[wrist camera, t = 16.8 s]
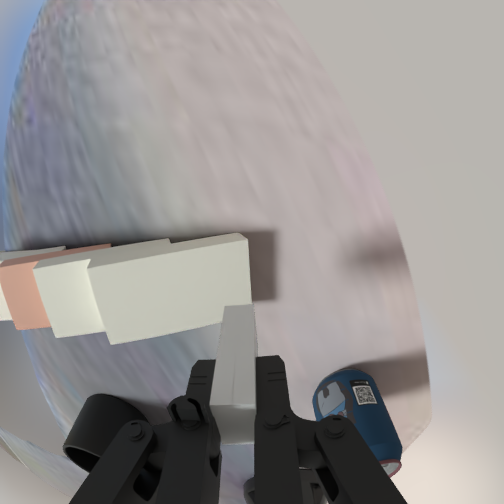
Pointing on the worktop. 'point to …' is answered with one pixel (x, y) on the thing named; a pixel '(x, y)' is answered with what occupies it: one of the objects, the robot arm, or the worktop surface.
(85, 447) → the mug
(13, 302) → the domino
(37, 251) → the domino
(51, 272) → the domino
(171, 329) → the domino
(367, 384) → the soda can
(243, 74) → the worktop surface
